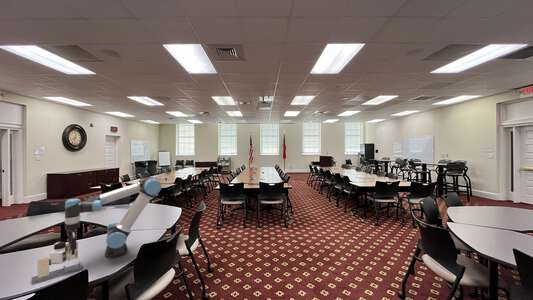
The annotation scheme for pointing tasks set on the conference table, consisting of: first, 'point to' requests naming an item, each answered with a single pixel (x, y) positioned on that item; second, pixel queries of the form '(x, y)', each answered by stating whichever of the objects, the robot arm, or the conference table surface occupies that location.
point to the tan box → (69, 251)
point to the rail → (46, 275)
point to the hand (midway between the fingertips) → (72, 257)
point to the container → (58, 253)
